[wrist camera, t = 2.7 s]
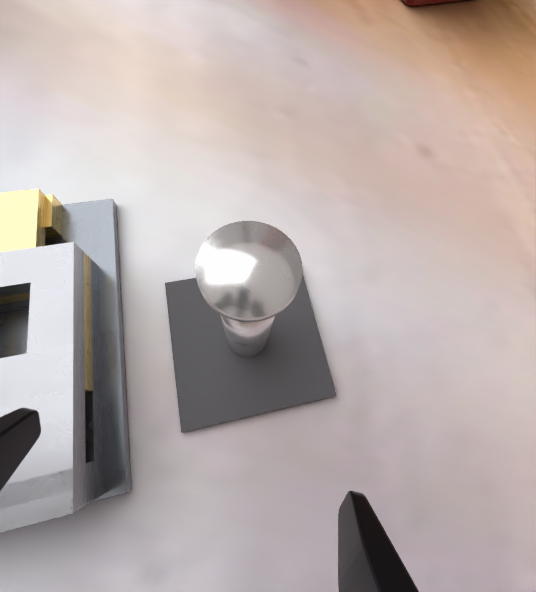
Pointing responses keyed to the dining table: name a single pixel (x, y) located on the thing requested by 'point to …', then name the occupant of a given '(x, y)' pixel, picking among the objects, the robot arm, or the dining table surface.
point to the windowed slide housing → (62, 354)
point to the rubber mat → (242, 361)
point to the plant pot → (426, 1)
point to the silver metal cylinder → (248, 280)
